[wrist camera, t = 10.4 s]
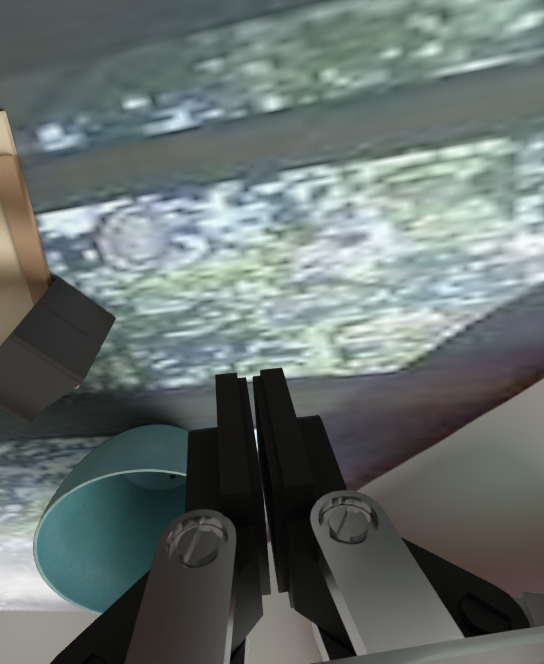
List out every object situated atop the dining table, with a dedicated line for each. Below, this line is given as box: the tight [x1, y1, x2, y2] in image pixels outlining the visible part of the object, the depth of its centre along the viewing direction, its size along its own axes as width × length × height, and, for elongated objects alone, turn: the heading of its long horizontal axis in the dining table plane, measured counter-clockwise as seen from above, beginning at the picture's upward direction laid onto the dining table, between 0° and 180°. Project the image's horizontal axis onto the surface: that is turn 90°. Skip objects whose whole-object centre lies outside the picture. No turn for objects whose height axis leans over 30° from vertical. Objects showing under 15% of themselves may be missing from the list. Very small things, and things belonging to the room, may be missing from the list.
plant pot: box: [33, 425, 189, 615], centre depth 46 cm, size 18×18×12 cm
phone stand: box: [0, 277, 116, 424], centre depth 41 cm, size 9×6×12 cm
